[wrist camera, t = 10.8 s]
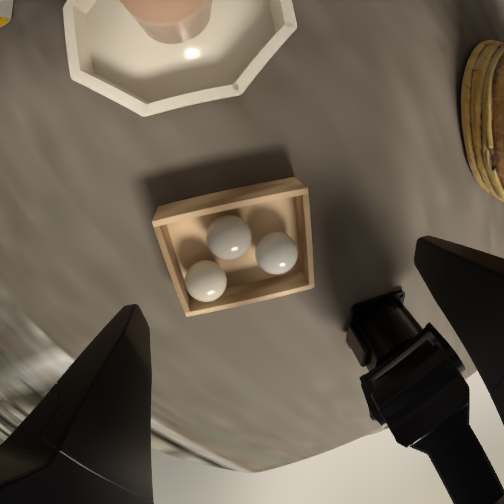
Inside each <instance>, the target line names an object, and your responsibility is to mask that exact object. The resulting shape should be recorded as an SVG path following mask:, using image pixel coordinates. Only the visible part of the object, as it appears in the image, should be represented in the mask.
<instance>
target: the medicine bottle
mask: <svg viewBox="0 0 504 504" xmlns="http://www.w3.org/2000/svg"><path fill="white" fill-rule="evenodd" d="M13 1H14V0H0V28H1V27H2V26H4V25H5V24H7V23H8V22H10V20H11V18H12V9H13Z"/></svg>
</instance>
